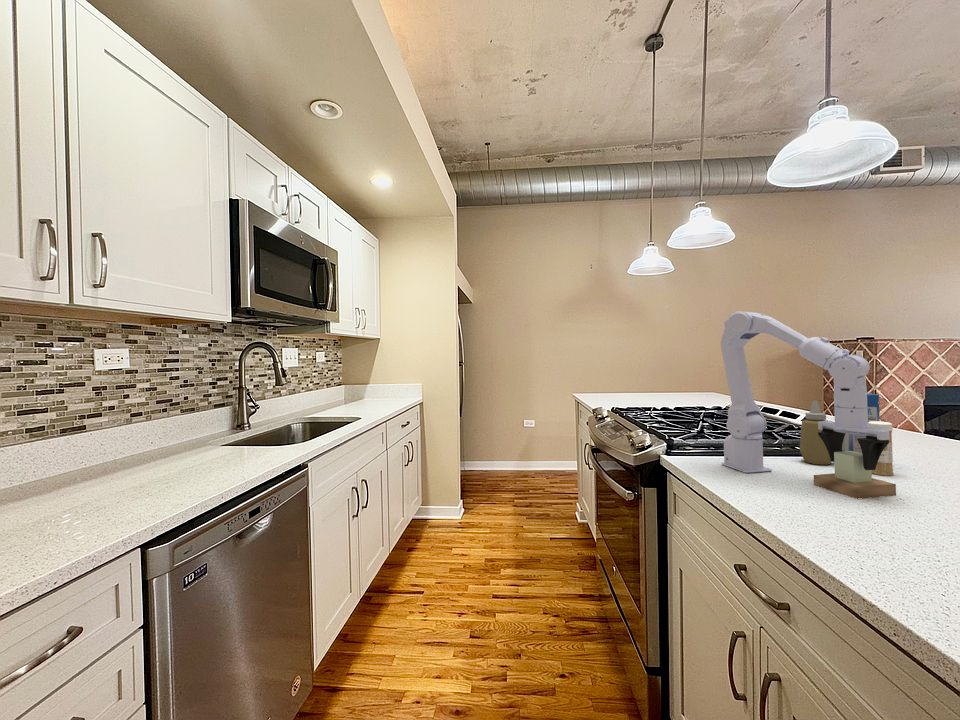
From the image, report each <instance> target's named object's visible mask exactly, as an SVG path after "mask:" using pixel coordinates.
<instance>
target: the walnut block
mask: <svg viewBox="0 0 960 720" xmlns="http://www.w3.org/2000/svg"><path fill="white" fill-rule="evenodd" d="M813 486H814V487H818V486H819V487H818V488H821V487H822V489H824V488H825V490H828V491H832V492H835V493H837V492H838V494H840V495H843V494H844V496H846V495H847V497H850V498H853V497H854V498H853V499H856V498H857V499H856V500H859V499H858V498H862V499H869V498H868V497H873V498H880V496H884V497H892V496H893V495H895V496H897V484H896V483H893V482H889V481H885V480H881V479H877V478H873V477H872V482H860V483H853V482H850V481H846V480H843V479H839V478H836V477H835V472H834V473H833V472H832V473H821V474H814V475H813Z"/></svg>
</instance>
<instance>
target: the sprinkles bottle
mask: <svg viewBox="0 0 960 720" xmlns="http://www.w3.org/2000/svg"><path fill="white" fill-rule="evenodd" d="M868 426H869V427H873V428H877V429H882V430H887V431H890V440H889V444H888V445H887V446H886V447H885V448H884V450H883V451H882V453H881V455H880V457H879V460H878V462H877V466H876V469H875V470H872V475H873V474H874V475H876V476H877V475H878V476H886V477H889V476H893V475H894V470H893V467H894V466H893V462H894V460H893V459H894V458H893V457H894V456H893V454H894V452H893V439H892V438H893V437H892V435H893V434H892V433H893V429H894V428H893V423H892V422H888V421H881V420H880V421H870V422H868Z"/></svg>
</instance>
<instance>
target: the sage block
mask: <svg viewBox="0 0 960 720" xmlns="http://www.w3.org/2000/svg"><path fill="white" fill-rule="evenodd" d="M833 463H834V473H835V477H836V478H839V479H843V480H846V481H850V482H853V483H860V482H872V478H873V476H872V475H873V473H872V470H865V469H864V466H863V455H862V453H858V452H853V451H843V452H834V462H833Z"/></svg>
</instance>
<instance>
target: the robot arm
mask: <svg viewBox="0 0 960 720" xmlns="http://www.w3.org/2000/svg"><path fill="white" fill-rule="evenodd" d="M723 324H724V330H723V332H722V333H723V334H722V336H721V340H720V350H721V354H722V360H723V364H724V365H723V366H724V370H725V375H726V380H727V385H728V390H729V391H728V392H729V396H730V401H731V404H730V406H729V408H728V409H727V420H726V429H727V432H728V433H730V434H729V435H728V436H726V437H725V438H724V442H723V455H724V456H723V457H724V458H723V460H724V461H723V462H721V465H723V466H725V467H728V468H731V469H734V470H736V471H739V472H742V473H745V474H747V473H763V472H764V473H765V472H772V471H773V470H772V468H769V467H766V466H764V447H763V445H764V444H763V442H764V441H763V433H764V431H766V429H767V424H768V422H767V419H766V418H765V416H764V415H763V413H762V412H761V408H760V406H759V405H758V404H757V403H756V402H755V399H754V395H753V389H752V384H751V379H750V375H749V369H748V364H747V359H746V355H745V353H746V352H745V349H744V347H745V346H746V345H747V344H748V343H749V341H751V339H753V338H755V337H757V336H758V335H760V334H768V335H770V336H772V337H774V338H777V339H778V340H780V341H782V342H784V343H786V344H788V345H790V346H792V347H794V348H797V350H798V353H799V357H802V358H804V359H805V360H807V361H809V362H811V363H812V364H814V365H816V366H818V367H820V368H821V369H823V370H825V371H827V372H828V374H829V376H830V377H832V378H833V406H834V407H833V409H834V411H833V413H834V414H833V415H834V421H828V420H825V421H819V422H818V429H820V430H823V431H822V432H818V435H819V436H820V438H821V439H822V441H823V442H824V444H825V446H826V448H827V450H828V453H829V456H830V459H831V463H832V462H833V463H834V452H842V444H843V440H844V437H845V434H846V433H847V434H853V435H859V436H865V437H866V438H858V439H857V440H858V442H859V444H860V447H861V450H862V455H863V466H864V469H865V470H875V469H876V466H877V462H878V460H879V457H880V455H881V453H882V451H883V450H884V448H885V447H886V446H887V445H888V444H889V440H890V431H887V430H882V429H877V428H873V427H869V426H868V414H867V393H868V390H867V389H868V388H867V378H866V376H868V374H869V373H870V370H871V366H870V363H869V362H868V360H867V359H865V358H864V357H863V356H862V355H860V354H850V352H851V351H850V350H849V349H847V348H844V349H843V348H840V347H838V346H837V345H834V344H832V343H831V342H830V339H829V338H827V337H822V336H821V337H819V336H814V337H812V336H811V337H809V338H808V337H807V336H805V335H804V334H802V333H800V332H798V331H796V330H794V329H793V328H791V327H789V326H788V325H786V324H784V323H782V322H781V321H779V320H777V319H775V318H774V317H772V316H769V315H766V314H764V313H762V312H758V311H752V312H751V311H742V310H737V311H735V312H732V313H731V314H730V315H729V316H728V317H727V318H726V319H725V321H724V322H723ZM827 421H828V422H827ZM851 431H853V432H851ZM863 433H864V434H863Z"/></svg>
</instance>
